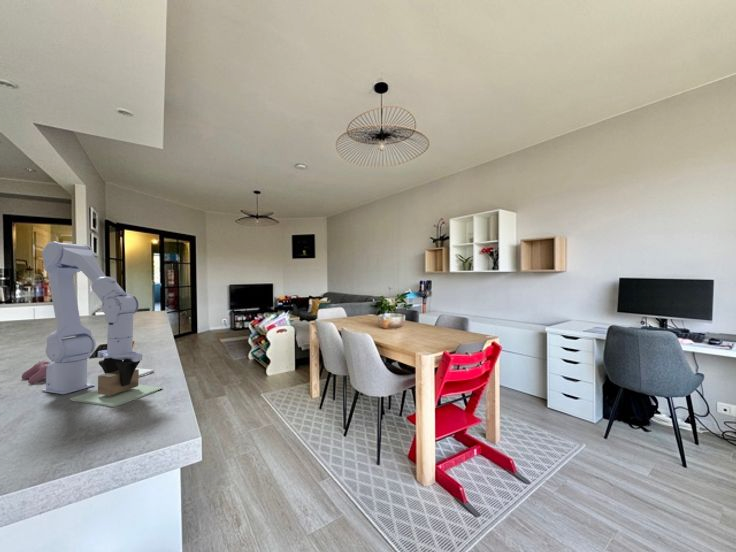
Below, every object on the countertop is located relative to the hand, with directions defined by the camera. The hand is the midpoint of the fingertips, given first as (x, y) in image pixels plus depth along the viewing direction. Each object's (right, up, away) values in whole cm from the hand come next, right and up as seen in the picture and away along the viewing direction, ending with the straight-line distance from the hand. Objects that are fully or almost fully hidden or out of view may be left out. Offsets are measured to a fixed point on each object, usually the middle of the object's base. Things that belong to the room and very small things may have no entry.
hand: (119, 384), depth 89 cm
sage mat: (0, -3, 0) cm, 3 cm away
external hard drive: (-10, -4, +16) cm, 19 cm away
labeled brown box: (0, -2, 0) cm, 2 cm away
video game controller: (-36, -3, +12) cm, 39 cm away
